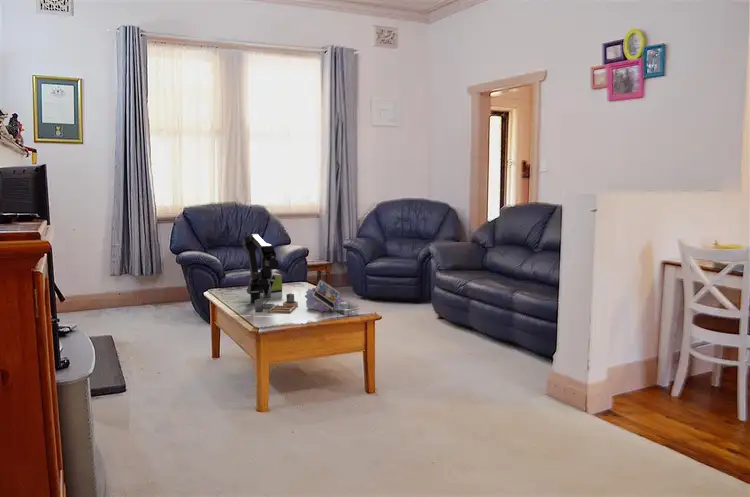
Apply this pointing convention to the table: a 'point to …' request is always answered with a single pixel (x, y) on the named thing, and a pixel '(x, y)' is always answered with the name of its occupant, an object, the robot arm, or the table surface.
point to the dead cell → (290, 298)
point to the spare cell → (258, 305)
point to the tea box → (276, 287)
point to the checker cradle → (269, 306)
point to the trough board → (281, 309)
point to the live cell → (267, 294)
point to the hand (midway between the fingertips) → (267, 294)
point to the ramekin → (290, 304)
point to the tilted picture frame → (322, 297)
